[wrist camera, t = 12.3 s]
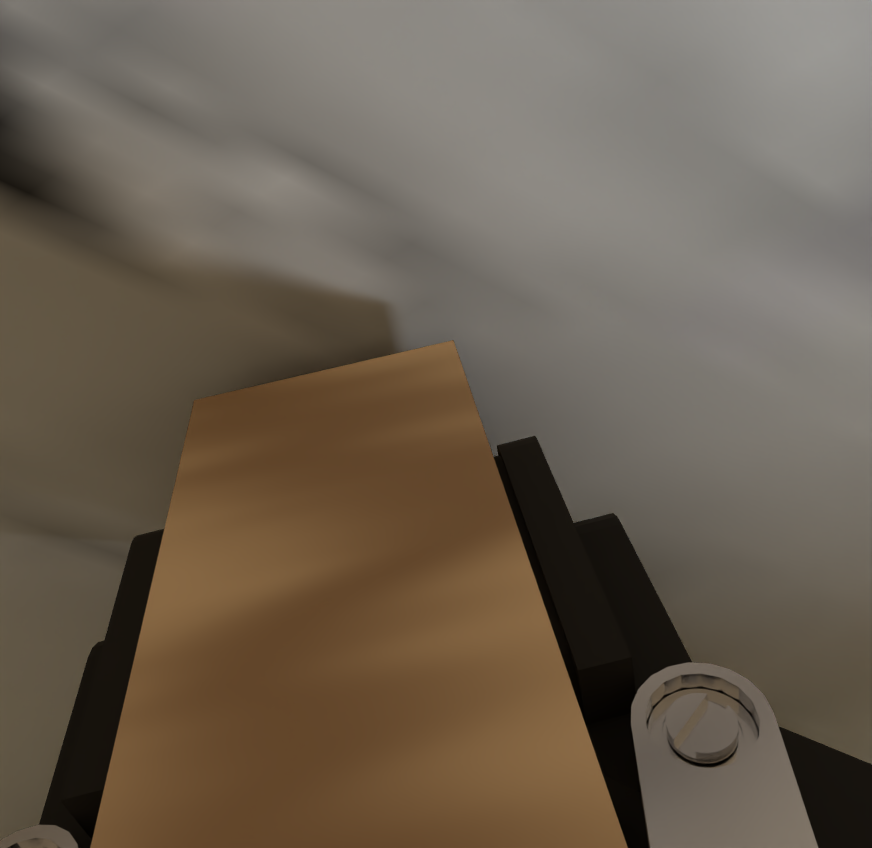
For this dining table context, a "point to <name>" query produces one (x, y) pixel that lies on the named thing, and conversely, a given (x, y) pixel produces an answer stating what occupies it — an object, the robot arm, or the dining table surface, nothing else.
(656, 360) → the dining table surface
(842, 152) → the dining table surface
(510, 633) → the tan block with rod
